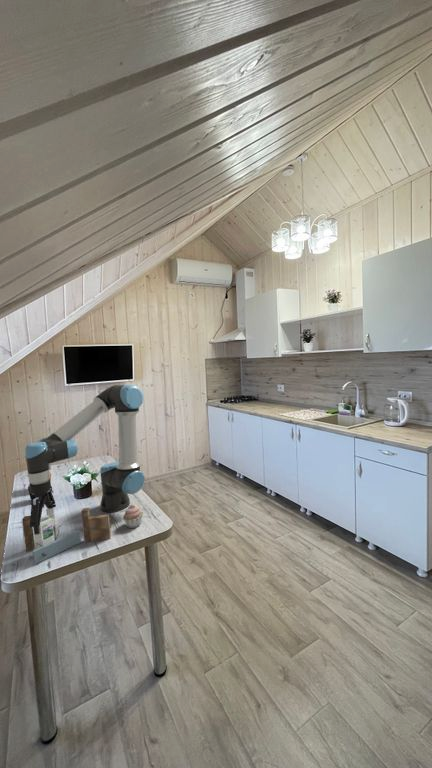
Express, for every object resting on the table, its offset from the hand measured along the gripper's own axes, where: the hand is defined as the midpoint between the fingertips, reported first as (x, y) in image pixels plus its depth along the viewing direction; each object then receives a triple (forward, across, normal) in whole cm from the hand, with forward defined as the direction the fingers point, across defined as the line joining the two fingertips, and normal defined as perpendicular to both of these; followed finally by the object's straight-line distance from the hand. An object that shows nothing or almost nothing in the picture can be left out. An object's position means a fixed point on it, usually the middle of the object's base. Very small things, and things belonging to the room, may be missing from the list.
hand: (45, 531), depth 129 cm
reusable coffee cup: (+9, -76, -30) cm, 83 cm away
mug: (+9, -60, -24) cm, 65 cm away
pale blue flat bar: (+9, +1, +5) cm, 10 cm away
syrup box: (+9, 0, 0) cm, 9 cm away
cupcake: (+9, -14, +33) cm, 37 cm away
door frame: (+9, -5, +7) cm, 13 cm away
